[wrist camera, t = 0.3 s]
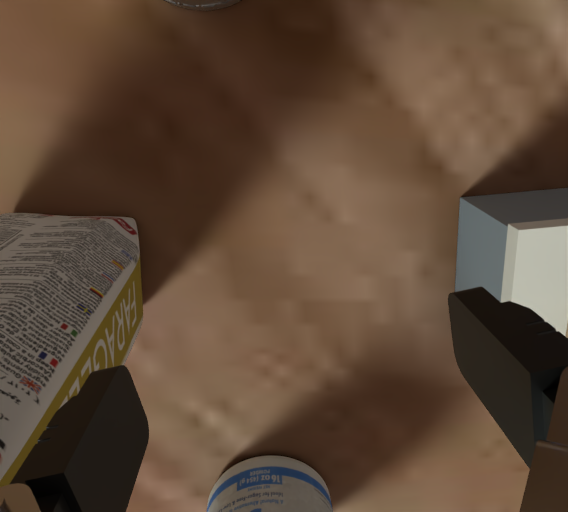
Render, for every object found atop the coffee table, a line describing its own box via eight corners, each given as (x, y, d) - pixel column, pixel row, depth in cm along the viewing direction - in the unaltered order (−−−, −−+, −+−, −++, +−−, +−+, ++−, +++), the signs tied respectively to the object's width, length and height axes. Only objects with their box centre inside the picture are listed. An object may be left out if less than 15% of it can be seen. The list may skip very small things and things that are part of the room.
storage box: (460, 197, 30) (517, 232, 23) (618, 183, 30) (718, 214, 23) (452, 337, 33) (499, 401, 27) (593, 323, 34) (674, 384, 27)
